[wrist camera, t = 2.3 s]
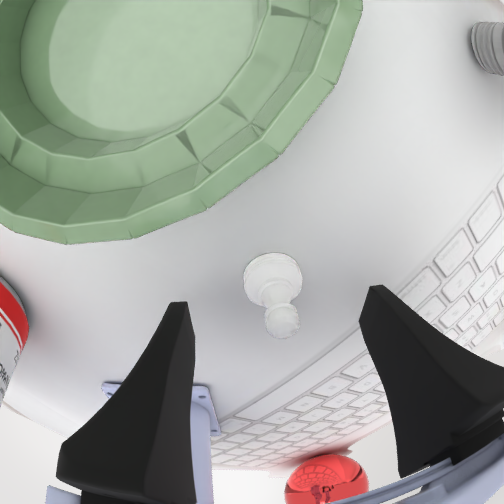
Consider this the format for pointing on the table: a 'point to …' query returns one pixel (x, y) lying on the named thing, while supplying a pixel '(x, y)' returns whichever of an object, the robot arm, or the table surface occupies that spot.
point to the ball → (326, 480)
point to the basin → (153, 105)
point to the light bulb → (489, 46)
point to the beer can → (10, 333)
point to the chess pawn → (275, 291)
